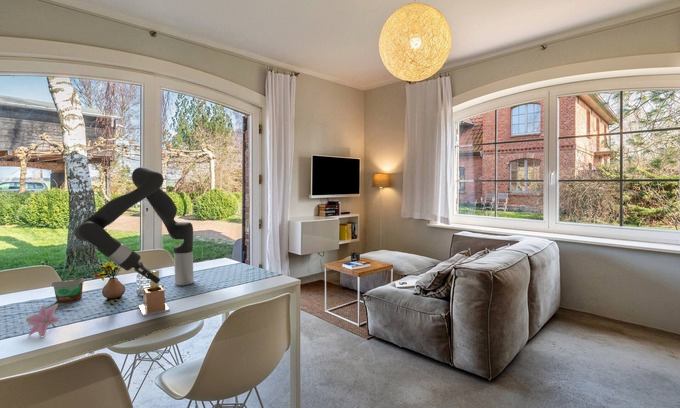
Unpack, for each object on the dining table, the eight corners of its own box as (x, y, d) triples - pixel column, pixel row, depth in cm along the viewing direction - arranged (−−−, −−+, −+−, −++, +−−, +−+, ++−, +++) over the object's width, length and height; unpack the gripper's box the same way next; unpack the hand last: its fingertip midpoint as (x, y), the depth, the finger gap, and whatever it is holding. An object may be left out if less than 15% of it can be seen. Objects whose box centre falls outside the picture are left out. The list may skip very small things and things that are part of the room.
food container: (49, 306, 156) (47, 284, 155) (53, 301, 161) (51, 280, 160) (83, 301, 162) (81, 280, 161) (85, 297, 167) (84, 277, 166)
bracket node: (138, 307, 154) (137, 286, 154) (163, 302, 161) (162, 282, 160) (143, 316, 144) (142, 294, 143) (169, 310, 150) (168, 289, 149)
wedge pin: (149, 296, 150) (150, 271, 150) (157, 295, 152) (158, 270, 152) (150, 298, 147) (151, 272, 148) (159, 297, 149) (159, 271, 150)
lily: (26, 332, 132) (14, 316, 126) (61, 312, 140) (51, 296, 134) (40, 349, 126) (27, 333, 121) (75, 327, 134) (65, 311, 129)
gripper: (133, 252, 138) (166, 275, 146) (129, 246, 149) (160, 268, 157) (118, 267, 135) (153, 290, 143) (115, 260, 146) (147, 282, 154)
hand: (156, 279), depth 150 cm, fingers open, 8 cm apart
